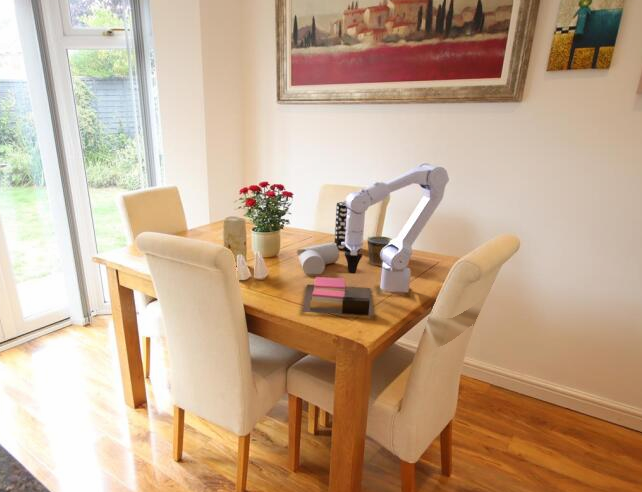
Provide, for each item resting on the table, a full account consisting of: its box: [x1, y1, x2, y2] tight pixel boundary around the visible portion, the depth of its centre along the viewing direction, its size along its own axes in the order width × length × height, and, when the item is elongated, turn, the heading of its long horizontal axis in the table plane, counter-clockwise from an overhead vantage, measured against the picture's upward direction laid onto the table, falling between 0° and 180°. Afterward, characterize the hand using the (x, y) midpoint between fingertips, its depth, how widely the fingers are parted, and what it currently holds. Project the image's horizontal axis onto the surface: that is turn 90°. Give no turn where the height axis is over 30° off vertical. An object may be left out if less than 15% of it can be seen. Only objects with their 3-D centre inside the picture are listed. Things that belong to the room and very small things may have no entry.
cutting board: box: [301, 284, 375, 317], centre depth 153 cm, size 22×23×1 cm
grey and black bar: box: [310, 297, 370, 314], centre depth 144 cm, size 18×2×4 cm, turn 78°
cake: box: [313, 276, 346, 292], centre depth 157 cm, size 10×8×4 cm
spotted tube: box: [333, 201, 347, 252], centre depth 204 cm, size 8×8×20 cm
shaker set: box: [236, 251, 269, 281], centre depth 173 cm, size 12×4×11 cm, turn 85°
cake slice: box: [312, 289, 345, 302], centre depth 149 cm, size 10×4×4 cm, turn 73°
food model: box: [222, 216, 248, 265], centre depth 187 cm, size 10×7×20 cm
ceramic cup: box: [366, 235, 394, 267], centre depth 187 cm, size 13×10×10 cm
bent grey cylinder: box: [296, 241, 340, 275], centre depth 183 cm, size 18×11×20 cm
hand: (351, 269), depth 155 cm, fingers open, 7 cm apart
